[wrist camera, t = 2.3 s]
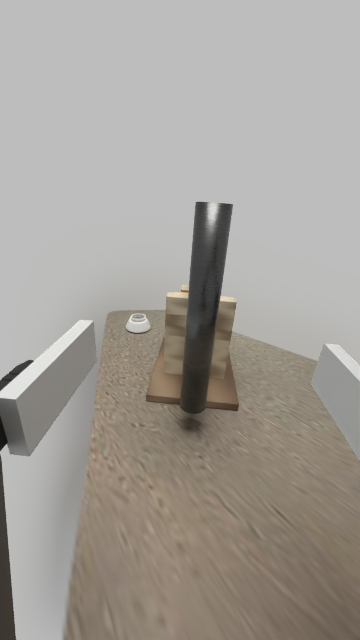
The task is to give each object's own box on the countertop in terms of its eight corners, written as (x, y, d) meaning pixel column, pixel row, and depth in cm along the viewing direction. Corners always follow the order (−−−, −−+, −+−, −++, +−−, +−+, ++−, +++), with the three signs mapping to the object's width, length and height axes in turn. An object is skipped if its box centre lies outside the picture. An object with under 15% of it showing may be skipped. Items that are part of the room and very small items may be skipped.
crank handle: (204, 338, 44) (219, 207, 35) (205, 415, 27) (235, 204, 19) (187, 336, 44) (198, 205, 35) (178, 412, 27) (195, 201, 19)
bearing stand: (226, 348, 47) (237, 281, 42) (237, 410, 32) (256, 319, 27) (163, 342, 48) (166, 275, 42) (146, 400, 33) (147, 309, 28)
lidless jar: (130, 336, 49) (153, 332, 52) (129, 322, 48) (153, 319, 50) (123, 325, 53) (145, 322, 56) (123, 313, 52) (145, 310, 54)
